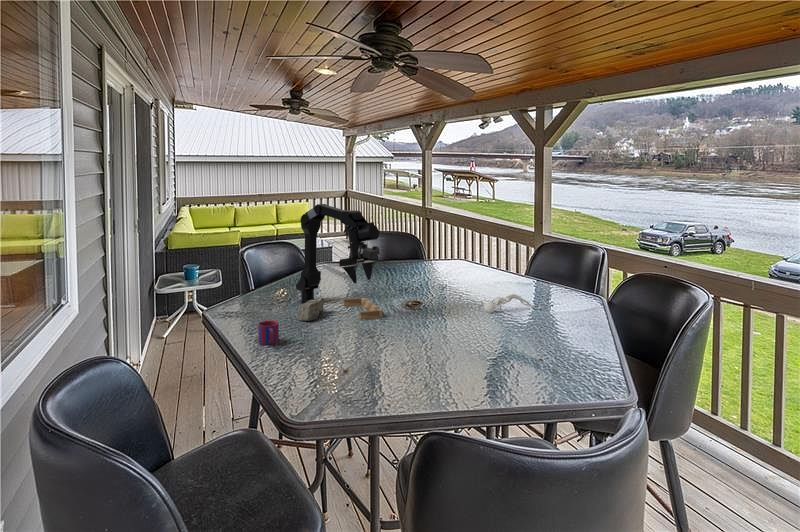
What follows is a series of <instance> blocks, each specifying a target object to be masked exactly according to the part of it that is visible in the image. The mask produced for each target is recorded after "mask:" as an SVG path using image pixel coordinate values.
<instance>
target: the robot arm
mask: <svg viewBox="0 0 800 532" xmlns="http://www.w3.org/2000/svg"><path fill="white" fill-rule="evenodd" d="M325 217H329V218H333V219H335V220H338V221H340V223H341V224H342V225H344V226H346V228H345V229H344V230H343V233H344V234H346V233H347V237H348V243H349V245H347V249H348V250H349V249H350V250H349V251H350V256H349V257H347V258H341V259H339V261H338V264H339V266H338V267H341V268H342V269H343V270H344V271H345V273H346V274H347V275H348V277H349V278H350V280H351V281H352V283H353V284H357V282H358V279H357V267H358V264H357V263H361V262H362V263H361V266H362V268H363V271H364V274H365V276H366V279H367V280H368V281H371V278H372V274H373V273H372V271H373V268H374V266H375V264H376V263H377V262H378V261H379V255H380V254H381V253H380V248H379V246H377V245H375V246H372V247H368V244H367V243H365V242H368V241H369V242H370V241H374V240H377V239H379V236H380V230H379V228H378V226H377V225H375V222H373V221H372V222H369V221H367V220H366V218H365V217H364V216H363V214H362V212H361V211H360V210H354V209H353V210H351V209H350V210H349V209H347V210H345V209H341V208H340V207H339V208H338V207H336V206H331V205H328V204H326V203H318V204H316V205H314V206H313V207H312V208H311V209H309V210H308V211H306V212H305V213H304V214H302V215H301V216H300V227H301V230H302V231H303V233H304V265H303V266H304V267H303V269H302V271H301V272H300V276H299V277H300V278H299V280H298V281H297V283H296V284H295V289H296V290H297V291H300V300H298V303H300V305H301V304H304V303H306V302H307V301H309V300H315V290H316V289H319V285H320V283H321V281H322V277H321V276H322V271H320V270H319V269H318V268H317V237H318V233H319V230H320V228H321V227H322V226H321V224H322V221H323V220H325Z"/></svg>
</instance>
